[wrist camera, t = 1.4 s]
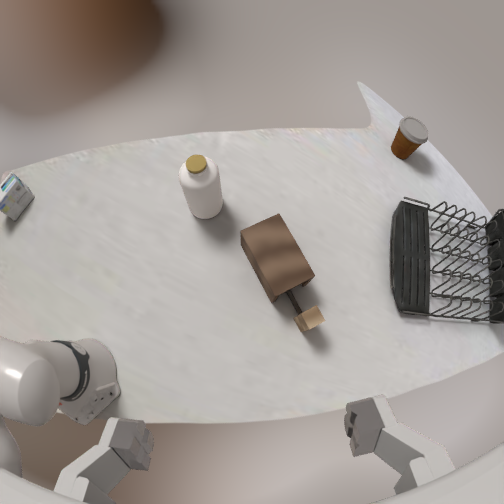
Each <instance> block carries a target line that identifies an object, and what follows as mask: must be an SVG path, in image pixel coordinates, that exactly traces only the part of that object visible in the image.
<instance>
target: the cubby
mask: <svg viewBox="0 0 504 504" xmlns="http://www.w3.org/2000/svg"><path fill="white" fill-rule="evenodd" d="M241 246H242V248H243V250H244V252H245V254H246V256H247V258H248V259H249V261H250V263H251V265H252V267H253V269H254V271H255V273H256V275H257V277H258V279H259V280H260V282H261V284H262V286H263V288H264V290H265V292H266V294H267V296H268V298H269V299H270V301H271V303H272V302H274V301H276V299H277V298H278V296H279V295H280V294H282V293H284V292H286V291H288V290H290V289H292V288H294V287H296V286H298V285H300V284H302V286H305V285H307V284H308V283H309V282H310V281H311V280H312V278H313V277H314V276H315V275H314V273H313V271H312V269H311V267H310V266H309V264H308V262H307V260H306V259H305V257H304V255H303V253H302V252H301V250H300V248H299V246H298V245H297V243H296V241H295V239H294V238H293V236H292V234H291V233H290V231H289V229H288V227H287V226H286V224H285V222H284V221H283V219H282V217H281V216H280V214H277V215H274V216H272V217H270V218H268V219H266V220H263V221H261V222H259V223H257V224H255V225H252V226H250V227H248V228H246V229H244V230H241Z"/></svg>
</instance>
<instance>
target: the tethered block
mask: <svg viewBox="0 0 504 504" xmlns="http://www.w3.org/2000/svg"><path fill="white" fill-rule="evenodd" d="M286 292H287V294H288V296H289V297H290V299H291V301H292V303H293V305H294V307H295V309H296V311H297V312H298V314H299V315H298V316H296V317H295V318H294V320H295V322H296V324H297V326H298V328H299V330H300V331H301V332H303V331H306V330H310V329H311V328H313V327H315V326H317V325H319V324H320V323H322V322H324V321H325V319H324V318H323V316H322V314H321V312H320V310H319V308H318V307H317V305H316V306H314V307H312V308H310V309H308V310H307V311H305V312H303V313H302V311H301V309H300V307H299V306H298V304H297V302H296V300H295V298H294V296H293V294H292V293H291V291H290V290H288V291H286Z"/></svg>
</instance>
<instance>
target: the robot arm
mask: <svg viewBox="0 0 504 504" xmlns="http://www.w3.org/2000/svg"><path fill="white" fill-rule="evenodd" d="M111 392H112V393H113V395H111ZM119 394H120V388H119V385H118V383H117V379H116V365H115V362H114V359H113V357H112V355H111V353H110V351H109V350H108V349H107V348H106V347H105V346H104V345H103V344H102V343H100V342H99V341H97V340H94V339H82V340H79V341H58V340H55V341H51V342H49V341H41V340H29V341H27V342H25V343H20V342H16V341H13V340H10V339H7V338H4V337H2V336H0V504H116V503H115V501H114V500H113V499H111V498H110V497H109V496H107V494H108V493H109V492H110V491H111V490H112V489H113V488H114V487H115V486H116V485H117V484H118V483H119V482H120V481H121V480H122V479H123V478H124V476H125V475H126V474H127V473H128V472H129V471H130V470H131V469H136V470H148V468H149V464H150V459H151V458H150V457H149V455H148V454H149V453H150V452H151V451H153V446H154V439H153V436H152V433H151V432H150V431H149V430H148V429H146V428H145V427H146V424H145V423H144V421H143V420H132V419H122V418H113V417H110V418H109V419H108V421H107V423H106V426H105V428H104V431H103V434H102V436H101V439H100V441H99V444H98V445H95V446H93V447H92V448H91V449H89V450H88V451H87V452H85V453H84V454H83V455H81V456H80V457H79V458H78V459H76V460H75V461H74V462H72V463H71V464H70V465H68V466H67V467H65V468H64V469H63V470H62V471H61V474H60V476H59V478H58V481H57V484H56V486H55V489H54V491H51V490H49V489H46V488H43V487H41V486H39V485H36V484H34V483H32V482H30V481H27V480H25V479H23V478H22V466H21V453H20V449H19V446H18V444H17V442H16V440H15V439H14V437H13V436H12V434H11V433H10V431H9V430H8V428H7V426H6V424H5V421H4V418H3V416H4V417H6V418H8V419H11V420H13V421H17V422H20V423H23V424H27V425H32V426H42V425H44V424H45V423H47V422H48V421H49V420H50V419H51V418H52V417H53V416H54V415H55V413H56V411H57V409H59V410H61V411H62V412H63V413H64V414H66V415H67V416H68V417H70V418H71V419H72V420H74V421H75V422H77V423H79V424H82V425H87V424H89V423H90V422H91V421H92V420H93V419H94V418H95V417H96V416H97V415H98V414H99V413H100V412H102V411H103V410H104V409H105V408H106V407H107V406H108V405H109V404H110V403H111V402H112V401H113V400H114V399H115V398H116V397H117V396H118V395H119ZM346 411H347V414H346V415H345V418H344V421H345V422H344V423H345V430H346V434H347V436H348V437H350V438H351V440H350V447H351V450H352V453H353V456H354V457H355V456H359V455H363V454H368V453H372V452H374V454H376V455H377V456H378V457H379V458H381V459H382V460H383V461H384V462H386V463H387V464H388V465H389V466H391V467H392V468H393V469H395V470H396V471H397V472H399V473H400V474H401V475H402V476H401V478H400V479H399V481H398V482H397V484H396V485H395V487H394V489H395V492H396V495H395V496H392V497H389V498H386V499H383V500H380V501H376V502H373V503H370V504H504V442H502V443H500V444H499V445H497V446H496V447H494V448H493V449H491V450H489V451H488V452H486V453H485V454H483V455H482V456H480V457H478V458H476V459H474V460H473V461H471V462H469V463H467V464H465V465H464V466H461V467H460V468H458V469H455V468H454V465H453V463H452V461H451V459H450V457H449V455H448V453H447V451H446V449H445V447H444V446H443V445H441V444H439V443H437V442H435V441H433V440H431V439H430V438H428V437H426V436H424V435H422V434H421V433H419V432H417V431H415V430H413V429H412V428H410V427H408V426H407V425H405V424H403V423H399V424H398V422H397V420H396V418H395V415H394V413H393V411H392V409H391V407H390V405H389V403H388V401H387V399H386V397H385V395H383V394H382V395H378V396H375V397H370V398H366V399H362V400H358V401H354V402H350V403H347V405H346ZM77 418H78V419H77Z"/></svg>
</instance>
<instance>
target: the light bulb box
mask: <svg viewBox="0 0 504 504" xmlns="http://www.w3.org/2000/svg"><path fill="white" fill-rule="evenodd" d="M33 198H34V195H33V193H32V192H31V190H30V189H29V187H28V186H27V185H26V184H24V183H23V182H22V181H21V180H20V179H19V178H18V177H17V176H16V175H15V174H14V173H13V172H10V173H9V174H8V176H7V177H6V178H5V180H4V181H3V182H2V183H1V185H0V211H2V212H3V213H4V214H6V215H7V216H8V217H10V218H11V219H13V220H14V221H16V219H17V218H18V217H19V215H20V214H21V213H22V212H23V210H24V209H25V208H26V207H27V205H28V204H29V203H30V202H31V201H32V199H33Z"/></svg>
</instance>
